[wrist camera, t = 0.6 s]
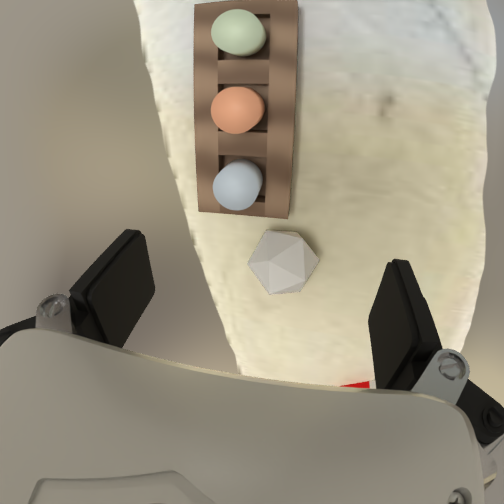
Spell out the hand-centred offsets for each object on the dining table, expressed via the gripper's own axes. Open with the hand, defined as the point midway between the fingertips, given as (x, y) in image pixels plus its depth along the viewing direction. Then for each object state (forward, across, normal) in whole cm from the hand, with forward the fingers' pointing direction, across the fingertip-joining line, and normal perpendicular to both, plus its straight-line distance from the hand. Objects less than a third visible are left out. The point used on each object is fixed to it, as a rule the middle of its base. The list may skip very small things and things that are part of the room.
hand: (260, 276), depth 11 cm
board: (+30, +6, -3) cm, 30 cm away
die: (+29, 0, +17) cm, 34 cm away
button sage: (+27, +6, -12) cm, 30 cm away
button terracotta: (+26, +6, -3) cm, 27 cm away
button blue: (+26, +6, +6) cm, 28 cm away
